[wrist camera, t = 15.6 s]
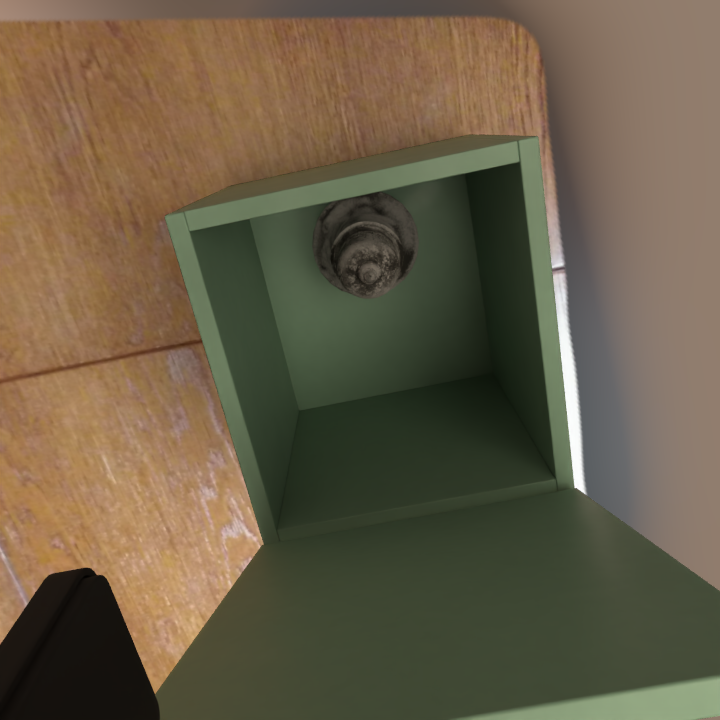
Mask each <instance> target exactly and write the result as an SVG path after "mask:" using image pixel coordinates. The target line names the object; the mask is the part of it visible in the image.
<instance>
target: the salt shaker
mask: <svg viewBox="0 0 720 720" xmlns="http://www.w3.org/2000/svg"><path fill="white" fill-rule="evenodd" d="M418 246H419V239H418V232H417V227H416V225H415V222H414V220H413V218H412V215H411V214H410V213H409V211H408V210H407V209H406V208H405V206H404V205H403V204H402V203H401V202H399V201H398V200H397V199H395V198H394V197H392V196H391V195H389V194H386V193H383V192H381V191H380V192H376V193H371V194H366V195H361V196H357V197H352V198H347V199H342V200H338V201H333V202H331V203H330V204H329V205H328V206H326V207H325V209H324V210H323V212H322V213H321V215H320V216H319V218H318V219H317V222H316V225H315V228H314V231H313V242H312V248H313V253H314V258H315V262H316V264H317V266H318V268H319V270H320V272H321V273H322V274H323V276H324V277H325V278H326V279H327V280H328V281H329V282H330V283H331V284H332V285H334V286H335V287H337V288H338V289H340V290H341V291H344V292H346V293H349V294H352V295H354V296H357V297H360V298H365V299H372V298H378V297H380V296H382V295H384V294H386V293H387V292H388V291H390V290H391V289H393V288H394V287H396V286H397V285H398V284H399V283H401V282H402V281H403V280H404V279H405V278H406V276H407V275H408V274H409V272H410V271H411V270H412V268H413V265H414V263H415V260H416V258H417V254H418Z"/></svg>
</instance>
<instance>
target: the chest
mask: <svg viewBox="0 0 720 720" xmlns="http://www.w3.org/2000/svg"><path fill="white" fill-rule="evenodd" d="M380 191H381V192H383V193H386V194H389V195H391V196H392V197H394V198H395V199H397V200H398V201H399V202H401V203H402V204H403V205H404V206H405V208H406V209H407V210H408V211H409V213H410V214H411V215H412V218H413V220H414V222H415V225H416V227H417V232H418V239H419V246H418V254H417V258H416V260H415V263H414V265H413V268H412V270H411V271H410V272H409V274H408V275H407V276H406V278H405V279H404V280H403V281H402V282H401V283H399V284H398V285H397V286H396V287H394V288H393V289H391V290H390V291H388V292H387V293H386V294H384V295H382V296H380V297H378V298H372V299H365V298H360V297H357V296H354V295H352V294H349V293H346V292H344V291H341V290H340V289H338V288H337V287H335V286H334V285H332V284H331V283H330V282H329V281H328V280H327V279H326V278H325V277H324V276H323V274H322V273H321V272H320V270H319V268H318V266H317V264H316V262H315V258H314V253H313V248H312V242H313V231H314V228H315V225H316V222H317V219H318V218H319V216H320V215H321V213H322V212H323V210H324V209H325V207H326V206H328V205H329V204H330V203H331V202H333V201H338V200H342V199H347V198H352V197H357V196H361V195H366V194H371V193H376V192H380ZM165 220H166V224H167V227H168V230H169V233H170V237H171V240H172V243H173V247H174V250H175V253H176V257H177V260H178V263H179V266H180V270H181V273H182V276H183V280H184V283H185V286H186V289H187V293H188V296H189V299H190V303H191V306H192V309H193V313H194V316H195V319H196V322H197V326H198V329H199V332H200V336H201V339H202V342H203V345H204V349H205V352H206V355H207V359H208V362H209V365H210V369H211V372H212V375H213V378H214V382H215V385H216V388H217V392H218V395H219V398H220V401H221V405H222V408H223V411H224V415H225V418H226V421H227V425H228V428H229V431H230V434H231V438H232V441H233V444H234V448H235V451H236V454H237V457H238V461H239V464H240V467H241V471H242V474H243V477H244V481H245V484H246V487H247V490H248V494H249V497H250V500H251V504H252V507H253V510H254V513H255V517H256V520H257V523H258V527H259V530H260V533H261V537H262V540H263V543H264V545H266V544H271V543H277V542H282V541H288V540H293V539H299V538H304V537H310V536H315V535H321V534H326V533H332V532H337V531H343V530H348V529H354V528H359V527H365V526H370V525H376V524H381V523H387V522H392V521H398V520H403V519H409V518H414V517H420V516H425V515H431V514H436V513H442V512H447V511H453V510H458V509H464V508H469V507H475V506H480V505H486V504H491V503H497V502H502V501H508V500H513V499H519V498H524V497H530V496H535V495H541V494H546V493H552V492H557V491H563V490H568V489H574V479H573V470H572V460H571V450H570V440H569V431H568V421H567V411H566V402H565V392H564V382H563V372H562V363H561V353H560V343H559V333H558V324H557V314H556V304H555V295H554V285H553V275H552V265H551V256H550V246H549V236H548V226H547V217H546V207H545V197H544V188H543V178H542V168H541V158H540V149H539V139H538V136H510V135H465V136H461V137H456V138H451V139H447V140H442V141H437V142H433V143H428V144H423V145H419V146H414V147H409V148H405V149H400V150H396V151H391V152H386V153H382V154H377V155H372V156H368V157H363V158H358V159H354V160H349V161H344V162H340V163H335V164H330V165H326V166H321V167H316V168H312V169H307V170H302V171H298V172H293V173H288V174H284V175H279V176H274V177H270V178H265V179H260V180H256V181H251V182H246V183H242V184H237V185H232V186H229V187H227V188H225V189H223V190H220V191H218V192H216V193H214V194H212V195H209V196H207V197H205V198H203V199H201V200H198V201H196V202H194V203H192V204H189V205H187V206H185V207H183V208H181V209H178V210H176V211H174V212H172V213H170V214H167V215H165Z"/></svg>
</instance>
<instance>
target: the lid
mask: <svg viewBox="0 0 720 720" xmlns="http://www.w3.org/2000/svg"><path fill="white" fill-rule="evenodd" d="M155 696H156V698H157V701H158V704H159V710H160V720H697V719H703V718H709V717H715V716H720V591H719V590H717V589H716V588H715V587H713V586H712V585H710V584H709V583H708V582H706V581H705V580H703V579H702V578H701V577H699V576H698V575H697V574H695V573H694V572H692V571H691V570H690V569H688V568H687V567H685V566H684V565H683V564H681V563H680V562H678V561H677V560H676V559H674V558H673V557H671V556H670V555H669V554H667V553H666V552H664V551H663V550H662V549H660V548H659V547H658V546H656V545H655V544H653V543H652V542H651V541H649V540H648V539H646V538H645V537H644V536H642V535H641V534H639V533H638V532H637V531H635V530H634V529H632V528H631V527H630V526H628V525H627V524H626V523H624V522H623V521H621V520H620V519H619V518H617V517H616V516H614V515H613V514H612V513H610V512H609V511H607V510H606V509H605V508H603V507H602V506H600V505H599V504H598V503H596V502H595V501H593V500H592V499H591V498H589V497H588V496H587V495H585V494H584V493H582V492H581V491H580V490H578V489H577V488H574V489H568V490H563V491H557V492H552V493H546V494H541V495H535V496H530V497H524V498H519V499H513V500H508V501H502V502H497V503H491V504H486V505H480V506H475V507H469V508H464V509H458V510H453V511H447V512H442V513H436V514H431V515H425V516H420V517H414V518H409V519H403V520H398V521H392V522H387V523H381V524H376V525H370V526H365V527H359V528H354V529H348V530H343V531H337V532H332V533H326V534H321V535H315V536H310V537H304V538H299V539H293V540H288V541H282V542H277V543H271V544H266V545H262V546H261V547H260V549H259V550H258V552H257V553H256V554H255V556H254V557H253V559H252V560H251V561H250V563H249V564H248V565H247V567H246V568H245V570H244V571H243V572H242V574H241V575H240V577H239V578H238V579H237V581H236V582H235V584H234V585H233V586H232V588H231V589H230V591H229V592H228V593H227V595H226V596H225V598H224V599H223V600H222V602H221V603H220V605H219V606H218V607H217V609H216V610H215V612H214V613H213V614H212V616H211V617H210V619H209V620H208V621H207V623H206V624H205V626H204V627H203V628H202V630H201V631H200V632H199V634H198V635H197V637H196V638H195V639H194V641H193V642H192V644H191V645H190V646H189V648H188V649H187V651H186V652H185V653H184V655H183V656H182V658H181V659H180V660H179V662H178V663H177V665H176V666H175V667H174V669H173V670H172V672H171V673H170V674H169V676H168V677H167V679H166V680H165V681H164V683H163V684H162V686H161V687H160V688H159V690H158V691H157V692H156V694H155Z"/></svg>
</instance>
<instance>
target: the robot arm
mask: <svg viewBox="0 0 720 720" xmlns="http://www.w3.org/2000/svg"><path fill="white" fill-rule="evenodd" d="M0 720H160V710H159V704H158V701H157V698H156V696H155V694H154V691H153V689H152V686H151V684H150V681H149V679H148V677H147V674H146V672H145V669H144V667H143V665H142V662H141V660H140V657H139V655H138V652H137V650H136V648H135V645H134V643H133V640H132V638H131V635H130V633H129V631H128V628H127V626H126V623H125V621H124V619H123V616H122V614H121V611H120V609H119V606H118V604H117V602H116V599H115V597H114V594H113V592H112V590H111V587H110V585H109V582H108V581H107V579H106V578H105V577H104V576H102V575H96V573H95V572H94V571H93V570H92V569H91V568H81V569H76V570H70V571H64V572H59V573H53V574H51V575H49V576H48V577H47V578H46V579H45V580H44V581H43V583H42V584H41V586H40V587H39V588H38V590H37V591H36V593H35V594H34V596H33V597H32V599H31V600H30V602H29V603H28V605H27V606H26V608H25V609H24V611H23V612H22V614H21V615H20V616H19V618H18V619H17V621H16V622H15V624H14V625H13V627H12V628H11V630H10V631H9V633H8V634H7V636H6V637H5V639H4V640H3V642H2V643H1V645H0Z"/></svg>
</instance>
